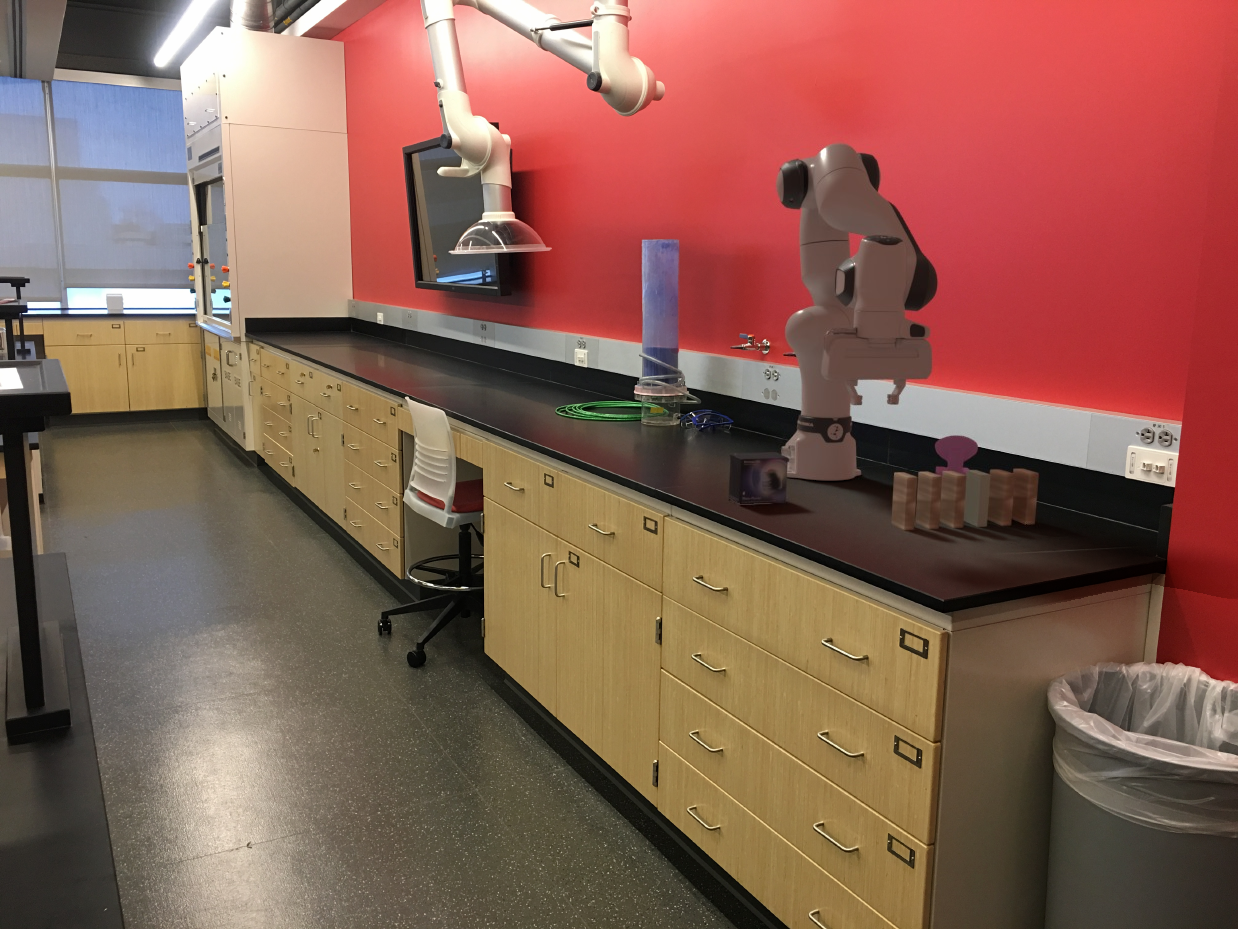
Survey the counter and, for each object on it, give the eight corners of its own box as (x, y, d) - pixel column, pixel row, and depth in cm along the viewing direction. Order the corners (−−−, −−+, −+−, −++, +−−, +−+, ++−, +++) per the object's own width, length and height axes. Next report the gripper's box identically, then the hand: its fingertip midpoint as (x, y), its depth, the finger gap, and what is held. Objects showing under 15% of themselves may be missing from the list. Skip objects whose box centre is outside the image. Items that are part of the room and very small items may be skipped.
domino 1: (904, 530, 182) (907, 477, 180) (891, 524, 187) (894, 472, 185) (914, 530, 182) (917, 477, 181) (900, 524, 187) (904, 472, 186)
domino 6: (1025, 525, 187) (1029, 473, 186) (1009, 519, 192) (1013, 468, 190) (1034, 524, 188) (1038, 473, 186) (1018, 519, 192) (1022, 468, 191)
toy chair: (969, 502, 208) (974, 431, 206) (975, 510, 200) (980, 437, 197) (928, 500, 210) (933, 430, 207) (932, 508, 201) (937, 435, 199)
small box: (739, 509, 199) (741, 458, 197) (727, 503, 205) (728, 453, 203) (787, 506, 202) (789, 456, 200) (773, 500, 208) (775, 451, 206)
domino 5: (1001, 526, 186) (1005, 474, 184) (986, 520, 191) (990, 469, 189) (1010, 525, 187) (1015, 473, 185) (995, 520, 191) (999, 469, 190)
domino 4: (977, 527, 185) (980, 475, 184) (962, 521, 190) (966, 470, 188) (986, 527, 186) (990, 474, 184) (972, 521, 190) (975, 469, 189)
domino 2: (928, 529, 183) (932, 476, 181) (915, 523, 188) (918, 471, 186) (938, 529, 184) (942, 476, 182) (925, 523, 188) (928, 471, 187)
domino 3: (953, 528, 184) (956, 475, 182) (939, 522, 189) (942, 471, 187) (963, 528, 185) (966, 475, 183) (948, 522, 189) (952, 470, 188)
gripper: (831, 328, 172) (828, 407, 174) (938, 328, 176) (934, 405, 178) (817, 327, 178) (813, 403, 180) (921, 327, 182) (916, 402, 184)
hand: (874, 404), depth 179 cm, fingers open, 6 cm apart
